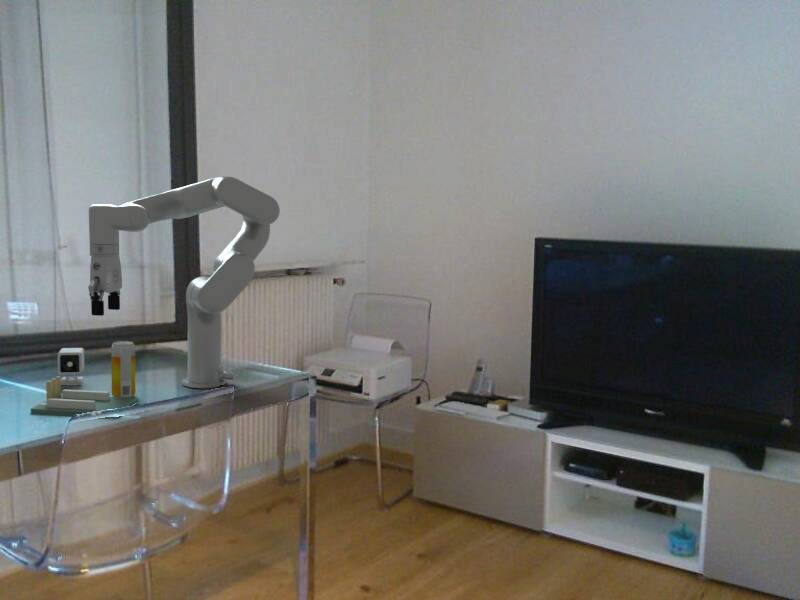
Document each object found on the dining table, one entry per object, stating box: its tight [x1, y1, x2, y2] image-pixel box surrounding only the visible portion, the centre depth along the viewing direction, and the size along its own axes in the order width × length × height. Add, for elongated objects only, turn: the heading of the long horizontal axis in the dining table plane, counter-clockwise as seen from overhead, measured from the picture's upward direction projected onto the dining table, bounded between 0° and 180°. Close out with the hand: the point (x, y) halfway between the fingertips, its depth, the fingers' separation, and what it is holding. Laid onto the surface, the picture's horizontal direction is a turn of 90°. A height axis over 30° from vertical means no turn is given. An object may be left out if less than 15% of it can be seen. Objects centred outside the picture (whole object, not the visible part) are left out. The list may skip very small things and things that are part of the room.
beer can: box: [110, 340, 136, 398], centre depth 213 cm, size 6×6×15 cm
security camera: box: [57, 347, 85, 387], centre depth 224 cm, size 6×7×10 cm
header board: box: [30, 375, 140, 417], centre depth 202 cm, size 22×14×7 cm, turn 88°
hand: (106, 312), depth 215 cm, fingers open, 9 cm apart
